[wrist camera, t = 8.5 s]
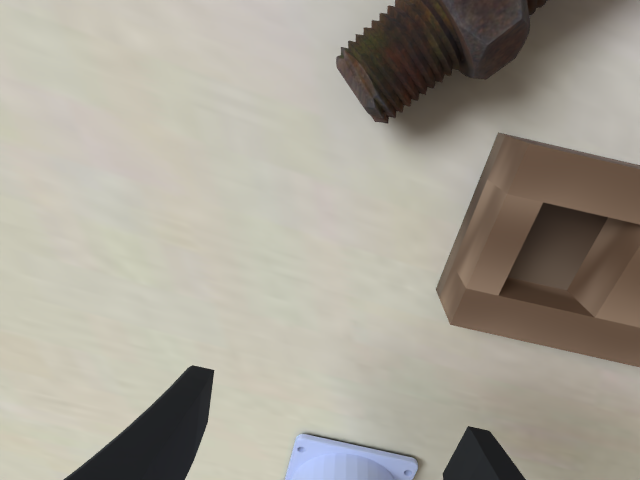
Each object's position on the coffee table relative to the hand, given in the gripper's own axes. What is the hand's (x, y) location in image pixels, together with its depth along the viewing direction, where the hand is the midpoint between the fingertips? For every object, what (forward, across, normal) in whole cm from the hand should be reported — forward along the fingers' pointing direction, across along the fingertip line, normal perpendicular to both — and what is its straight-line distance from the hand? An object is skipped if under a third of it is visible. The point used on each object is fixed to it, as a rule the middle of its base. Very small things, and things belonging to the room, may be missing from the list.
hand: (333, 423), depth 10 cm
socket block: (+9, -12, -4) cm, 16 cm away
